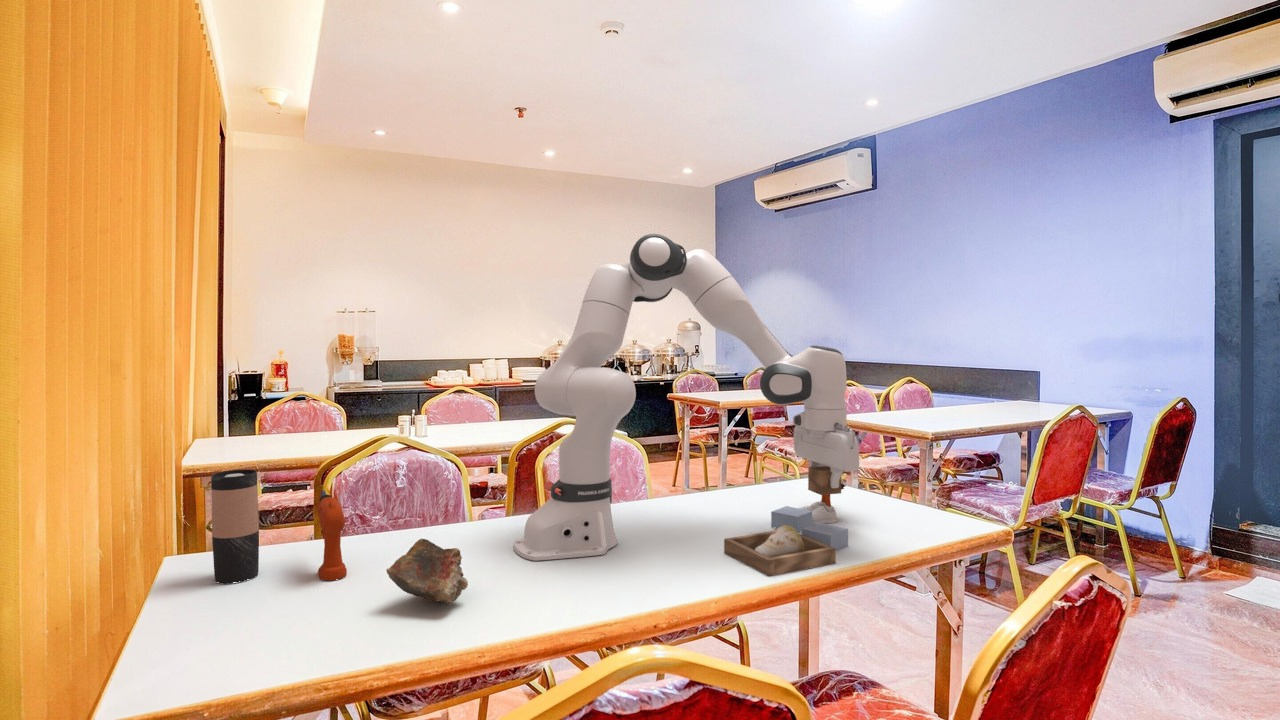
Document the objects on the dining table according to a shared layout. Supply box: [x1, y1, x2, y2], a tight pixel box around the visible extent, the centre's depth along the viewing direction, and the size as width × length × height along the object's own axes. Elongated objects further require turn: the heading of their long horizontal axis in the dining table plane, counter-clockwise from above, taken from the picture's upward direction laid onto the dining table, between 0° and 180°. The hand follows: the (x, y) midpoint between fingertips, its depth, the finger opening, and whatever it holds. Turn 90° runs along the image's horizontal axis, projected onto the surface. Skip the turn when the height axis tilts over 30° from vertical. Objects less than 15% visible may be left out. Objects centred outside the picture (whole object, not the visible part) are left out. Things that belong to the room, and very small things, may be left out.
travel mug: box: [210, 468, 260, 584], centre depth 127 cm, size 8×8×20 cm
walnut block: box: [807, 466, 842, 496], centre depth 146 cm, size 5×5×5 cm
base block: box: [801, 523, 849, 552], centre depth 146 cm, size 7×7×4 cm
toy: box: [798, 458, 852, 525], centre depth 167 cm, size 30×11×30 cm, turn 178°
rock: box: [386, 538, 469, 604], centre depth 115 cm, size 12×12×10 cm
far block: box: [770, 505, 813, 533], centre depth 160 cm, size 7×7×4 cm
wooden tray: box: [723, 530, 837, 577], centre depth 138 cm, size 16×15×3 cm
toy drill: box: [317, 489, 348, 581], centre depth 133 cm, size 5×19×15 cm, turn 32°
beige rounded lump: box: [755, 525, 805, 558], centre depth 135 cm, size 8×10×10 cm
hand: (825, 484), depth 146 cm, fingers closed on walnut block, 5 cm apart
